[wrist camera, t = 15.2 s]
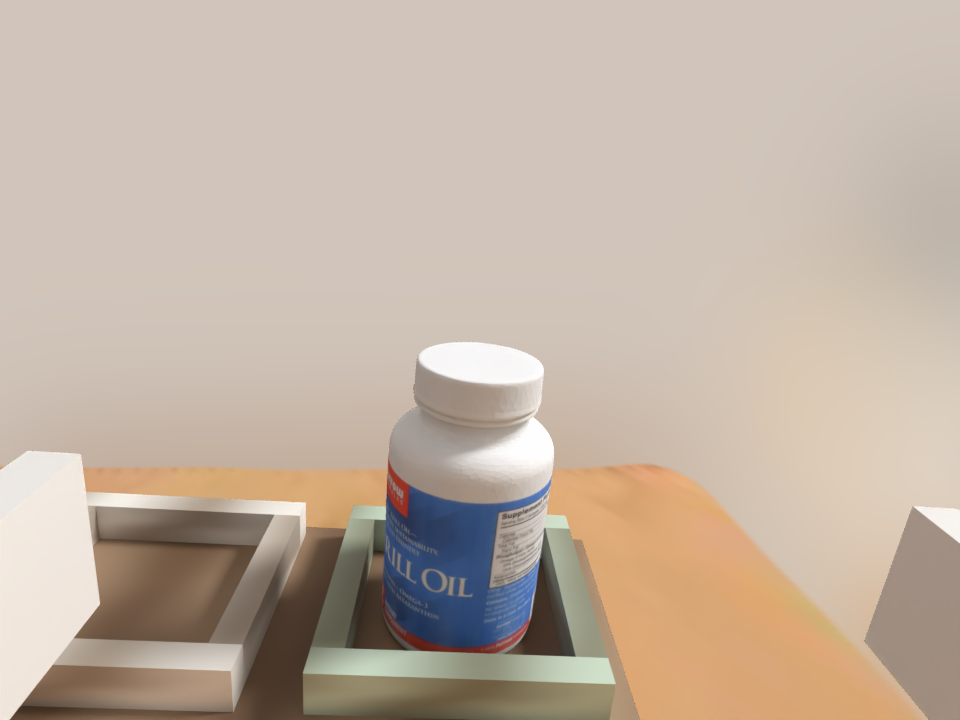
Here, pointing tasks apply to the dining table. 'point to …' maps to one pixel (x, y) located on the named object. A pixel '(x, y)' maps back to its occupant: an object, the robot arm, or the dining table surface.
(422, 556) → the pill bottle
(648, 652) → the dining table surface
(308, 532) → the board
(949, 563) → the robot arm
